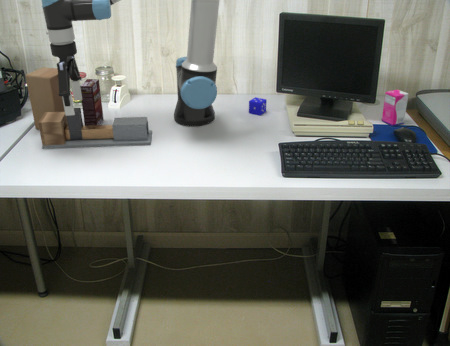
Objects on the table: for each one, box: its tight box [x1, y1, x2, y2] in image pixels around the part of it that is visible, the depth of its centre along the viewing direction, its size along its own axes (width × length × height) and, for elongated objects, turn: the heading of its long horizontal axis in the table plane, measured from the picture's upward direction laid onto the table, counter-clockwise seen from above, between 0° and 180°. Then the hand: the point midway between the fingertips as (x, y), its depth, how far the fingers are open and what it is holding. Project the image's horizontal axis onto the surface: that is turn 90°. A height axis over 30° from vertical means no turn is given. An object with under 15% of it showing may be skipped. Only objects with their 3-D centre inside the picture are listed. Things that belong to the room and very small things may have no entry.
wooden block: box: [25, 66, 72, 130], centre depth 175 cm, size 10×10×20 cm
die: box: [248, 97, 267, 116], centre depth 190 cm, size 5×5×5 cm
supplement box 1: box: [80, 78, 104, 126], centre depth 177 cm, size 9×5×16 cm, turn 177°
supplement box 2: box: [381, 89, 409, 127], centre depth 180 cm, size 6×6×12 cm
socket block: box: [38, 112, 68, 146], centre depth 166 cm, size 7×9×8 cm
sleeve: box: [111, 116, 150, 141], centre depth 168 cm, size 11×7×6 cm, turn 94°
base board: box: [41, 129, 153, 150], centre depth 169 cm, size 35×10×1 cm, turn 94°
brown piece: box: [64, 107, 114, 140], centre depth 166 cm, size 22×4×10 cm, turn 94°
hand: (74, 107), depth 163 cm, fingers open, 13 cm apart
